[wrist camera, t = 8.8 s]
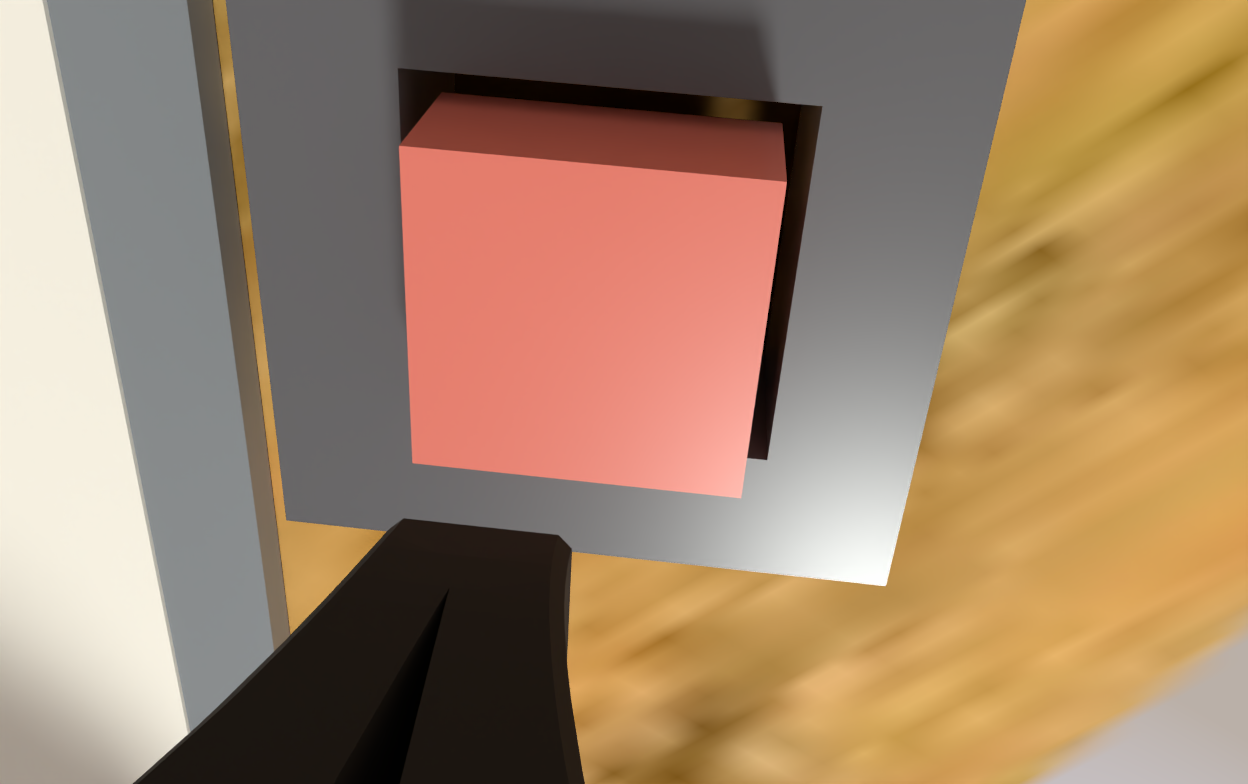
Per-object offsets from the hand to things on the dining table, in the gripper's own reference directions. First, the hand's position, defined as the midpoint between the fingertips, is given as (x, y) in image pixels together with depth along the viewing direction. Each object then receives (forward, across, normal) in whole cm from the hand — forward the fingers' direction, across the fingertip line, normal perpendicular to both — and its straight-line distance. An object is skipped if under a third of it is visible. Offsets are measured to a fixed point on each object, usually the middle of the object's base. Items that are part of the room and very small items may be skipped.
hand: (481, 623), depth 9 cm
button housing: (+9, 0, 0) cm, 9 cm away
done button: (+7, 0, 0) cm, 7 cm away
